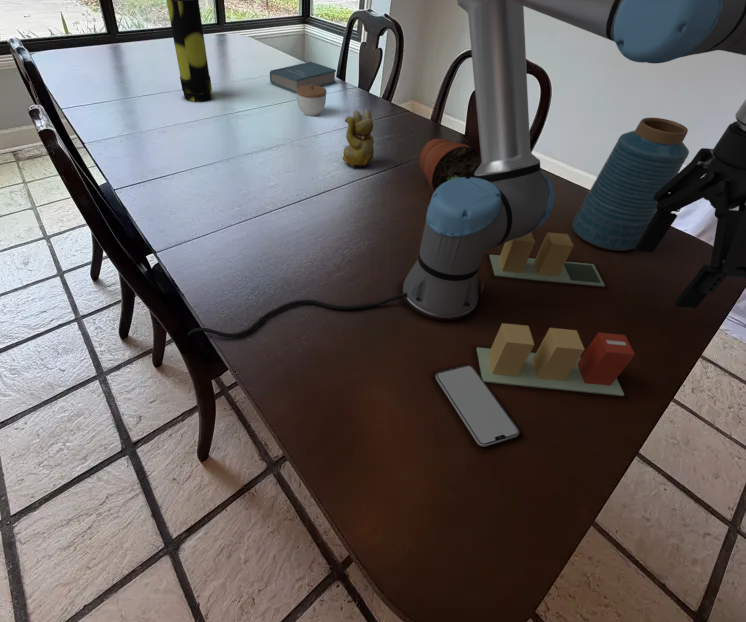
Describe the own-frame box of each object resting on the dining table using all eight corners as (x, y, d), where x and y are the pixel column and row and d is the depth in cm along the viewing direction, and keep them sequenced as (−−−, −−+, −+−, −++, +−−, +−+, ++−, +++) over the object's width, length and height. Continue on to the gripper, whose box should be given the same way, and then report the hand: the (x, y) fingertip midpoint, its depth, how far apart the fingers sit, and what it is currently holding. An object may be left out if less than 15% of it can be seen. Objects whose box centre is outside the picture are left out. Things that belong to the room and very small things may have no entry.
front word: (482, 382, 75) (497, 348, 69) (476, 348, 81) (489, 314, 75) (623, 396, 75) (650, 363, 69) (607, 361, 80) (631, 328, 74)
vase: (651, 254, 106) (726, 141, 87) (587, 253, 105) (649, 139, 86) (617, 218, 118) (677, 112, 98) (559, 218, 116) (608, 110, 97)
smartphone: (471, 363, 77) (522, 433, 67) (470, 366, 78) (520, 436, 68) (433, 373, 75) (481, 446, 65) (433, 375, 76) (479, 448, 66)
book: (296, 93, 176) (296, 79, 172) (270, 83, 183) (269, 69, 179) (335, 83, 188) (336, 69, 184) (309, 74, 195) (309, 61, 191)
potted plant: (405, 187, 128) (465, 244, 103) (415, 131, 118) (484, 179, 93) (452, 185, 132) (521, 239, 107) (466, 131, 122) (545, 177, 97)
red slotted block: (584, 383, 76) (607, 351, 70) (576, 363, 79) (598, 331, 73) (610, 385, 76) (635, 354, 70) (602, 366, 79) (625, 334, 73)
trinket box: (310, 105, 167) (310, 77, 160) (331, 113, 162) (332, 85, 155) (290, 112, 161) (289, 83, 154) (312, 120, 156) (312, 91, 149)
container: (219, 97, 167) (205, -1, 146) (196, 104, 161) (179, 2, 140) (200, 91, 172) (185, -6, 150) (177, 97, 166) (158, -3, 144)
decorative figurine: (361, 155, 137) (365, 103, 127) (379, 165, 133) (386, 112, 123) (338, 163, 133) (340, 110, 122) (357, 173, 129) (361, 119, 118)
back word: (494, 276, 97) (507, 244, 91) (489, 255, 102) (500, 223, 96) (604, 286, 96) (624, 254, 90) (592, 265, 102) (610, 233, 96)
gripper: (888, 181, 42) (734, 336, 57) (739, 96, 59) (651, 233, 75) (810, 174, 42) (677, 331, 57) (684, 92, 59) (607, 229, 75)
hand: (662, 276), depth 66 cm, fingers open, 13 cm apart
